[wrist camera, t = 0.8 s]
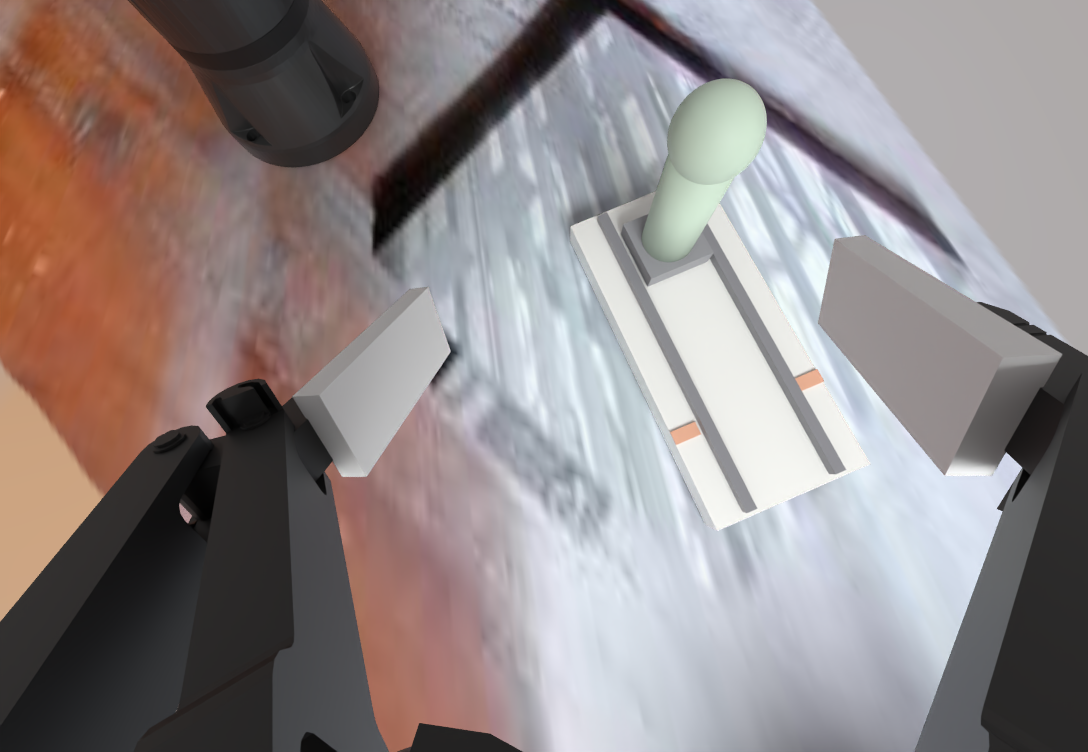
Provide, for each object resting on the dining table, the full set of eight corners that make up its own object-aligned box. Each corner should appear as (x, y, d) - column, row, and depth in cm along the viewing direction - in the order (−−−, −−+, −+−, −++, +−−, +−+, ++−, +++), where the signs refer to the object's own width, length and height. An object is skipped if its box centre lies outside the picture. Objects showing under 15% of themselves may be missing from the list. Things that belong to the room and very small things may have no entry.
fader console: (570, 241, 37) (570, 220, 34) (693, 190, 37) (704, 165, 34) (705, 525, 32) (721, 532, 28) (847, 463, 32) (878, 464, 29)
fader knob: (620, 234, 34) (658, 75, 20) (678, 210, 34) (756, 36, 20) (647, 286, 33) (707, 158, 19) (707, 261, 33) (810, 116, 19)
